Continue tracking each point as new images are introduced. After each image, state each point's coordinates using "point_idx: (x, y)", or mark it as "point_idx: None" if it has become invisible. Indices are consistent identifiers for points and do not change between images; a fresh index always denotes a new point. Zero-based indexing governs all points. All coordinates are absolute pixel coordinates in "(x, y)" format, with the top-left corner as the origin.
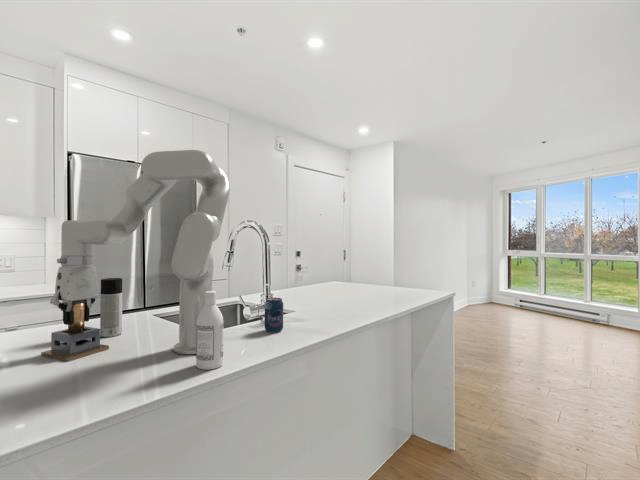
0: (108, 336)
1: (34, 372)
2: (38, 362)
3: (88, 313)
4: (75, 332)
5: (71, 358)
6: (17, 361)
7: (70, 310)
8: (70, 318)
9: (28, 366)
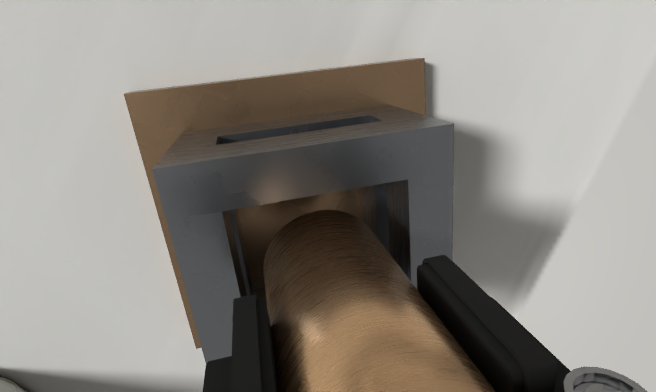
0: (7, 382)
1: (572, 32)
2: (478, 187)
3: (238, 368)
4: (360, 223)
5: (398, 60)
6: (501, 280)
7: (564, 388)
8: (482, 298)
9: (527, 162)
